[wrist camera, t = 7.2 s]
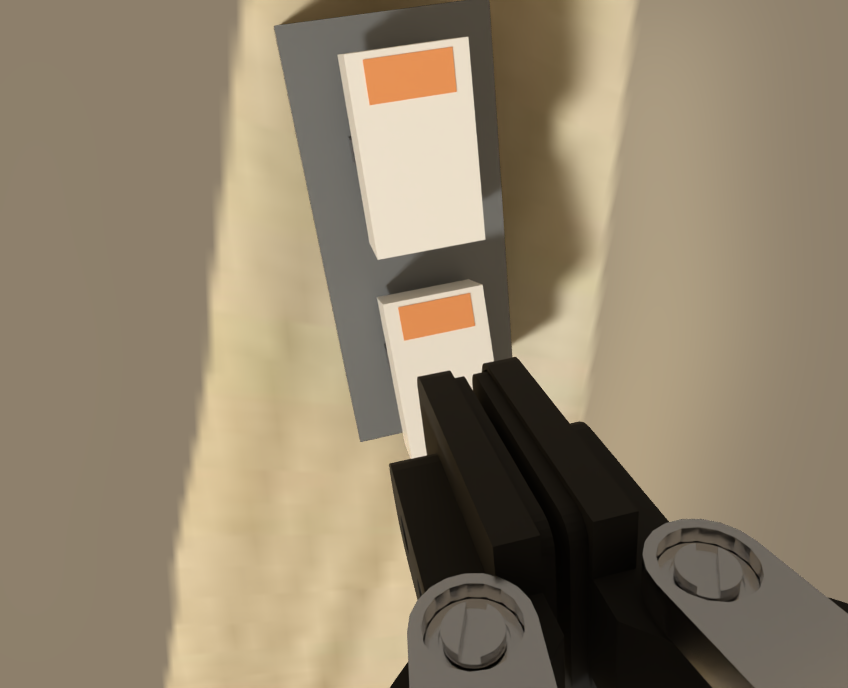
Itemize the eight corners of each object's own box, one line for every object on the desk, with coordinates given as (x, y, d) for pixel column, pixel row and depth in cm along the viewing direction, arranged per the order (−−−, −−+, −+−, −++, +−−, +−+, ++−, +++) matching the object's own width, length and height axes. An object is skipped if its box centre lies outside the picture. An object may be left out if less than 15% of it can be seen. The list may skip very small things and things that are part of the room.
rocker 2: (491, 423, 25) (506, 441, 23) (404, 444, 25) (412, 463, 23) (468, 279, 24) (482, 285, 22) (376, 297, 23) (382, 304, 21)
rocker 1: (468, 224, 22) (485, 239, 20) (369, 243, 22) (377, 260, 20) (450, 38, 19) (468, 36, 18) (337, 54, 19) (343, 54, 17)
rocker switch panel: (494, 438, 34) (529, 502, 29) (365, 468, 33) (380, 539, 28) (457, 4, 24) (501, -6, 19) (274, 28, 23) (273, 25, 19)
